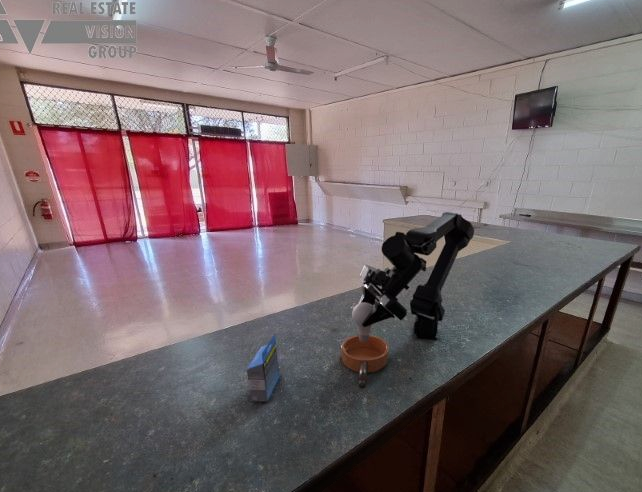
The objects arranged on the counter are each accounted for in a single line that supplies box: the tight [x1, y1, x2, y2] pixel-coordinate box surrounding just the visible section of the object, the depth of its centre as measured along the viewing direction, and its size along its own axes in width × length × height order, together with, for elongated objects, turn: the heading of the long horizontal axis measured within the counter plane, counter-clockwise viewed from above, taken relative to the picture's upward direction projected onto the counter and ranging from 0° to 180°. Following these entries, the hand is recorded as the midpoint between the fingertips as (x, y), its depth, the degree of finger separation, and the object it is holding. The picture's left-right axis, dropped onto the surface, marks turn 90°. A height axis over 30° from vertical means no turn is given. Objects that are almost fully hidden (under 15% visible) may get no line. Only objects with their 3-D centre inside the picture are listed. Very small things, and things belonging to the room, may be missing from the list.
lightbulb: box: [351, 302, 375, 343], centre depth 80 cm, size 6×6×11 cm
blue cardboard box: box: [246, 332, 280, 403], centre depth 70 cm, size 9×4×12 cm, turn 178°
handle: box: [357, 361, 368, 389], centre depth 73 cm, size 2×9×2 cm, turn 178°
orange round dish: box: [341, 334, 390, 374], centre depth 83 cm, size 12×12×4 cm
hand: (359, 320), depth 79 cm, fingers closed on lightbulb, 6 cm apart
